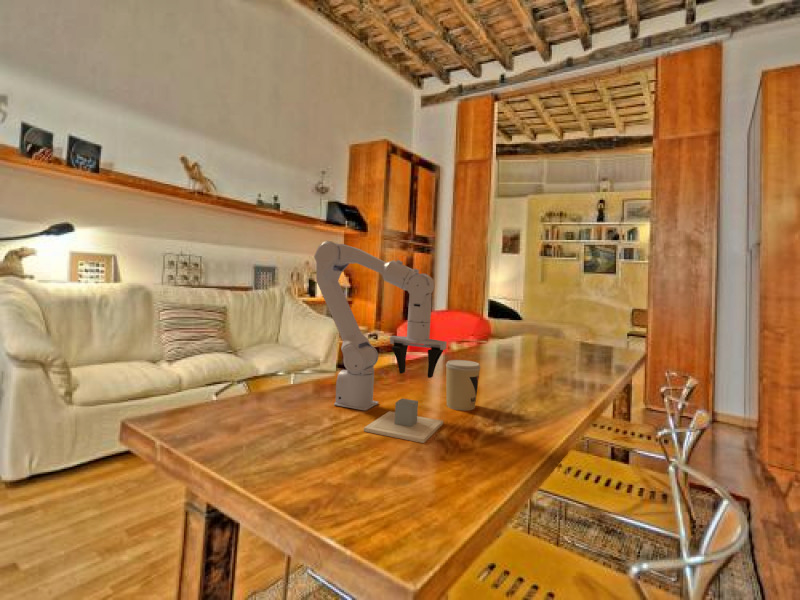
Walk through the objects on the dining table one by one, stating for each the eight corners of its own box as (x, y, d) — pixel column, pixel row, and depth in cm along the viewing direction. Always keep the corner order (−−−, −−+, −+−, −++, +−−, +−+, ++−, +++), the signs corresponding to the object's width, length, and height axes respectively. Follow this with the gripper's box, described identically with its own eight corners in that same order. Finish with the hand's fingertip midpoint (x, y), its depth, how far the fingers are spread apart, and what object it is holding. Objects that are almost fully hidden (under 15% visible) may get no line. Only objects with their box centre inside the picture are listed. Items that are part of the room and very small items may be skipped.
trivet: (363, 431, 98) (363, 427, 98) (389, 414, 111) (389, 410, 111) (423, 443, 92) (423, 439, 92) (442, 423, 105) (443, 420, 105)
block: (394, 424, 101) (395, 402, 101) (401, 419, 105) (402, 398, 104) (410, 427, 99) (412, 405, 99) (416, 422, 103) (418, 400, 103)
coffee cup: (477, 413, 116) (480, 367, 115) (441, 409, 118) (444, 364, 117) (478, 403, 125) (481, 361, 124) (445, 400, 127) (447, 358, 126)
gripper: (386, 320, 110) (383, 373, 111) (441, 325, 105) (438, 382, 105) (397, 318, 117) (394, 369, 118) (450, 323, 111) (447, 376, 112)
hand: (416, 375), depth 112 cm, fingers open, 7 cm apart
